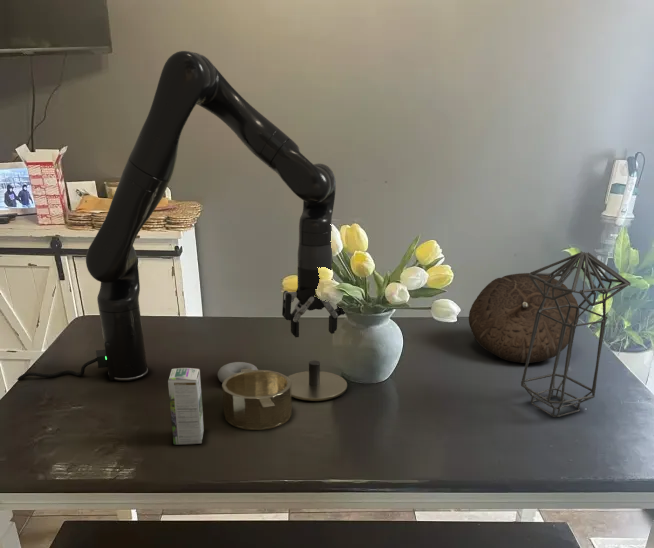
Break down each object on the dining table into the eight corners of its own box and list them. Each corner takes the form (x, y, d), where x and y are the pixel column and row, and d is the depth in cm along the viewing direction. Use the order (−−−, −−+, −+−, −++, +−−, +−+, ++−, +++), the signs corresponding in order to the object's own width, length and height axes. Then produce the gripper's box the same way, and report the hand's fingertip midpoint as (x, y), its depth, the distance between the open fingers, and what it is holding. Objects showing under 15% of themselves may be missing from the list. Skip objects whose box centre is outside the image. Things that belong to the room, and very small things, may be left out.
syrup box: (176, 431, 141) (169, 367, 134) (205, 431, 142) (199, 367, 135) (173, 445, 136) (166, 379, 129) (203, 444, 137) (197, 378, 130)
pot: (235, 440, 138) (233, 408, 135) (216, 400, 155) (214, 369, 151) (303, 430, 143) (303, 398, 139) (277, 391, 159) (277, 362, 156)
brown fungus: (467, 370, 174) (457, 273, 172) (480, 369, 195) (471, 283, 194) (583, 355, 163) (573, 252, 162) (583, 357, 185) (575, 266, 183)
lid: (292, 407, 152) (292, 379, 149) (273, 379, 165) (273, 354, 162) (356, 397, 157) (357, 371, 154) (333, 372, 170) (334, 347, 166)
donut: (212, 387, 161) (252, 390, 159) (211, 374, 159) (251, 377, 158) (226, 371, 170) (264, 374, 168) (225, 358, 168) (263, 361, 166)
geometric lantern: (550, 428, 145) (582, 265, 128) (504, 399, 157) (527, 247, 140) (605, 414, 151) (643, 257, 134) (556, 387, 163) (585, 240, 146)
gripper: (339, 257, 152) (337, 326, 159) (278, 261, 147) (279, 331, 155) (351, 265, 145) (348, 337, 153) (288, 270, 141) (288, 343, 149)
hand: (313, 334), depth 154 cm, fingers open, 8 cm apart
